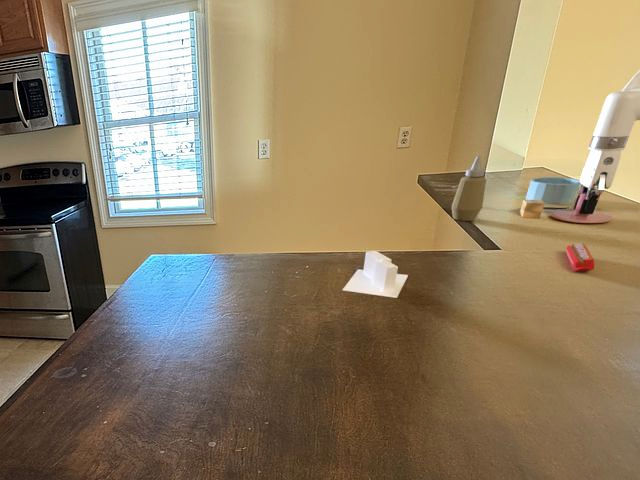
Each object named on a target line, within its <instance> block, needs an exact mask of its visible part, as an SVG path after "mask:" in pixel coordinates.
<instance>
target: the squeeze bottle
mask: <svg viewBox="0 0 640 480" xmlns="http://www.w3.org/2000/svg"><path fill="white" fill-rule="evenodd" d="M485 171H486V170H485V169H484V168H482V155H477V156H476V157H475V159H474V161H473V163H472V166H471V168H468V169H466V170H465V176H463V177H462V178H461V179H460V181H459V182H458V183H459V184H458V186H457V189H456V192H455V195H454V197H453V201H452V204H451V214H452V219H453V220H456V221H461V222H469V221H470V222H471V221H474V220H476V218H477V217H478V215H479V214H480V212H481V210H482V208H483V204H484V197H485V192H486V191H485V190H486V184H487V178H486V177H485V176H484V175H485Z"/></svg>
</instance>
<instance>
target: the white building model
mask: <svg viewBox="0 0 640 480" xmlns="http://www.w3.org/2000/svg"><path fill="white" fill-rule="evenodd" d="M398 269H399V266H397V265H396V264H394V263H392V258H389V257H388V256H386V255H385V254H383V253H380V252H379V251H378V250H370V251H365V255H364V263H363V269H359V268H358V269H357V270H356V271H355V273H354V274H353V275H352V276H351V278H350V279H349V280H348V282H347V283H346V284H345V286H344V287H343V288H342V291H344V292H352V293H360V294H365V295H373V296H379V297H387V298H395V299H398V297H399V294H400V293H401V291H402V289H403V287H404V285H405V283H406V281H407V279H408V277H409V274H401V273H398Z"/></svg>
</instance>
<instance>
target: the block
mask: <svg viewBox="0 0 640 480" xmlns="http://www.w3.org/2000/svg"><path fill="white" fill-rule="evenodd" d="M543 207H545V204H544V202H543V201H542V200H526V199H523V200H522V204H521V207H520V210H519V216H520V217H521V218H523V219H541V216H542V213H543V210H544V209H543Z"/></svg>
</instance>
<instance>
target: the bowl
mask: <svg viewBox="0 0 640 480" xmlns="http://www.w3.org/2000/svg"><path fill="white" fill-rule="evenodd" d="M581 185H582V184H581V183H580V179H577V178H573V177H572V178H569V177H559V176H543V177H535V178H532V179H530V183H529V186H528V189H527V193H526V195H525V200H542V201H543V202H544V205H569V204H574V203H575V202H576V199H577V196H578V193H579V191H580V188H581ZM567 208H568V207H556V206H555V207H550V206H549V207H547V206H543V209H542V210H566V209H567Z"/></svg>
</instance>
